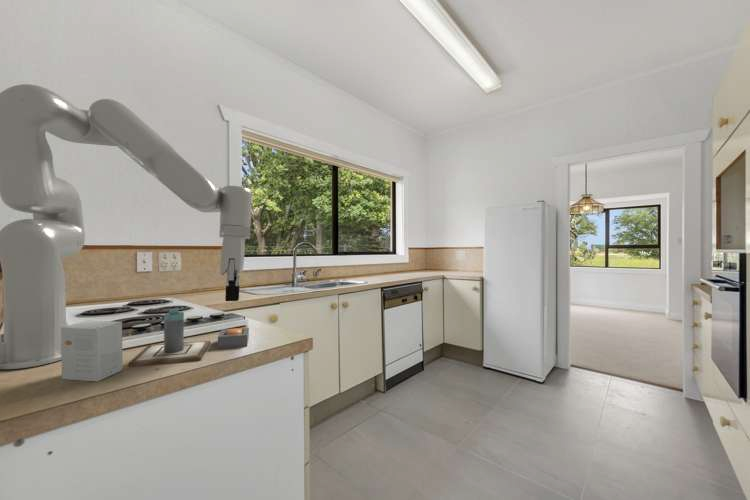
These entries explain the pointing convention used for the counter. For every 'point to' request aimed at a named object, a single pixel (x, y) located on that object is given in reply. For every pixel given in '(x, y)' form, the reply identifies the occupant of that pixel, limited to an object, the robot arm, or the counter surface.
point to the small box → (91, 350)
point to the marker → (173, 331)
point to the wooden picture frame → (170, 354)
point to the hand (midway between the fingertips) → (232, 300)
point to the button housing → (233, 339)
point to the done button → (234, 331)
